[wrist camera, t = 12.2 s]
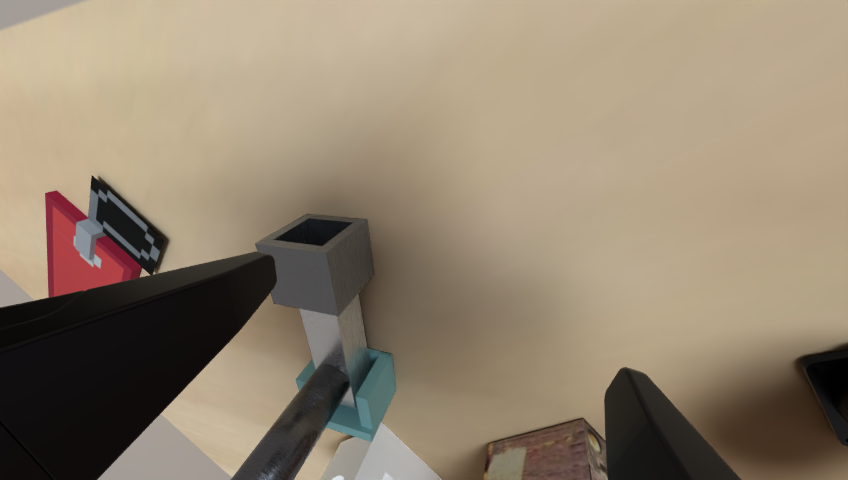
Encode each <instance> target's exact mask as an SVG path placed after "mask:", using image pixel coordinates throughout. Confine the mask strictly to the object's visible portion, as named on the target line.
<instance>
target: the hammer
mask: <svg viewBox="0 0 848 480" xmlns="http://www.w3.org/2000/svg"><path fill="white" fill-rule="evenodd" d="M299 310H300V314H301V317H302V321H303V325H304V328H305V332H306V336H307V339H308V343H309V347H310V350H311V354H312V358H313V362H314V365H315V369H316V370H315V371H314V372H313V374H312V375H311V376H310V378H309V379H308V380H307V382H306V383H305V384H304V385H303V387H302V388H301V389H300V391H299V392H298V393H297V395H296V396H295V397H294V398H293V400H292V401H291V402H290V404H289V405H288V406H287V407H286V409H285V410H284V411H283V413H282V414H281V415H280V417H279V418H278V419H277V420H276V422H275V423H274V424H273V426H272V427H271V428H270V430H269V431H268V432H267V433H266V435H265V436H264V437H263V439H262V440H261V441H260V443H259V444H258V445H257V446H256V448H255V449H254V450H253V452H252V453H251V454H250V456H249V457H248V458H247V459H246V461H245V462H244V463H243V465H242V466H241V467H240V468H239V470H238V471H237V472H236V474H235V475H234V476H233V478H232V479H231V480H294V478H295V477H296V475H297V473H298V472H299V470H300V469H301V467H302V465H303V464H304V462H305V460H306V459H307V457H308V456H309V454H310V452H311V451H312V449H313V447H314V446H315V444H316V443H317V441H318V439H319V438H320V436H321V434H322V433H323V431H324V429H325V428H326V426H327V425H328V423H329V421H330V420H331V418H332V416H333V415H334V413H335V412H336V410H337V408H338V407H339V405H340V404H341V405H344V406H348V407H351V408H355V409H356V407H357V402H356V397H355V396H356V394H357V393H358V391H359V389H360V388H361V386H362V384H363V382H364V381H365V379H366V377H367V376H368V374H369V372H370V370H371V368H370V362H369V356H368V349H367V343H366V337H365V331H364V325H363V319H362V313H361V306H360V300H359V294H357V295H356V297H355V298H354V299H353V300H352V301H351V303H350V304H349V305H348V306H347V307H346V308H345V310H344V311H343V312H342V313H341V314H340V316H334V315H329V314H324V313H319V312H314V311H309V310H304V309H299Z"/></svg>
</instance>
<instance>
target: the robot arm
mask: <svg viewBox="0 0 848 480" xmlns="http://www.w3.org/2000/svg"><path fill="white" fill-rule="evenodd" d="M276 283H277V274H276V266H275V259H274V257H273V256H272V255H270V254H267V253H264V252H253V253H248V254H244V255H239V256H235V257H230V258H226V259H221V260H217V261H212V262H208V263H203V264H199V265H194V266H190V267H185V268H181V269H176V270H172V271H167V272H163V273H158V274H154V275H149V276H145V277H140V278H136V279H131V280H127V281H122V282H118V283H113V284H109V285H104V286H100V287H95V288H91V289H87V290H86V291H84V290H82V291H77V292H73V293H68V294H64V295H59V296H54V297H50V298H45V299H40V300H36V301H31V302H26V303H22V304H16V305H11V306H6V307H1V308H0V480H97V479H98V478H99V477H100V476H101V475H102V474H103V473H104V472H105V471H106V470H107V469H108V468H109V467H110V466H111V465H112V464H113V463H114V462H115V460H117V459H118V457H119V456H120V455H121V454H122V453H123V452H124V451H125V450H126V449H127V448H128V447H129V446H130V445H131V444H132V443H133V442H134V440H136V439H137V438H138V437H139V436H140V435H141V433H142V432H143V431H144V430H145V429H146V428H147V427H148V426H149V425H150V424H151V423H152V422H153V421H154V420H155V419H156V418H157V417H158V416H159V415H160V414H161V413H162V412H163V411H164V409H165V408H166V407H167V406H168V405H169V404H170V403H171V402H172V401H173V400H174V399H175V398H176V397H177V396H178V395H179V394H180V393H181V392H182V391H183V390H184V389H185V388H186V387H187V385H188V384H189V383H190V382H191V381H192V380H193V379H194V378H195V377H196V376H197V375H198V374H199V373H200V372H201V371H202V370H203V369H204V368H205V367H206V366H207V365H208V364H209V362H210V361H211V360H212V359H213V358H214V357H215V356H216V355H217V354H218V353H219V352H220V351H221V350H222V349H223V348H224V347H225V346H226V345H227V344H228V343H229V342H230V341H231V340H232V338H233V337H234V336H235V335H236V334H237V333H238V332H239V331H240V330H241V329H242V327H243V326H244V325H245V324H246V322H247V321H248V320H249V319H250V317H251V316H252V315H253V314H254V312H255V311H256V310H257V309H258V307H259V306H260V305H261V304H262V302H263V301H264V300H265V299H266V297H267V296H268V295H269V294H270V292H271V291H272V290H273V289H274V287H275V285H276ZM816 366H817V367H816ZM801 367H802V369H803V371H804V373H805V376H806V378H807V380H808V382H809V384H810V386H811V388H812V390H813V392H814V394H815V396H816V398H817V400H818V402H819V404H820V406H821V409H822V411H823V413H824V415H825V417H826V419H827V421H828V423H829V425H830V427H831V429H832V431H833V433H834V435H835V436H836V437H837V439H838V440H839V441H840V442H841V443H842V444H844V445H846V446H848V350H846V351H840V352H835V353H829V354H823V355H818V356H812V357H808V358H805V359H804V360H802V362H801ZM604 404H605V438H606V466H607V478H608V480H741V479H740V478H739V477H738V476H737V475H736V473H735V472H734V471H733V470H732V469H731V468H730V467H729V466H728V465H727V463H726V462H725V461H724V460H723V459H722V458H721V457H720V456H719V455H718V453H717V452H716V451H715V450H714V449H713V448H712V447H711V446H710V445H709V444H708V442H707V441H706V440H705V439H704V438H703V437H702V436H701V435H700V434H699V432H698V431H697V430H696V429H695V428H694V427H693V426H692V425H691V424H690V422H689V421H688V420H687V419H686V418H685V417H684V416H683V415H682V414H681V412H680V411H679V410H678V409H677V408H676V407H675V406H674V405H673V404H672V403H671V401H670V400H669V399H668V398H667V397H666V396H665V395H664V394H663V393H662V391H661V390H660V389H659V388H658V387H657V386H656V385H655V384H654V383H653V381H652V380H651V379H650V378H649V377H648V376H647V375H646V374H644V373H643V372H640V371H637V370H634V369H630V368H627V367H623V368H621V369H620V370H619V371H618V373H617V375H616V376H615V378H614V379H613V381H612V382H611V384H610V385H609V387H608V388H607V390H606V393H605V399H604Z"/></svg>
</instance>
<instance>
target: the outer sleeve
mask: <svg viewBox="0 0 848 480" xmlns="http://www.w3.org/2000/svg"><path fill="white" fill-rule="evenodd" d="M255 245H256V248H257V251H258V252H264V253H267V254H270V255H272V256H273V257H274V259H275V266H276V274H277V283H276V285H275V287H274V289H273V290H272V291H271V292H270V293H271V296H272V299H273V302H274V304H279V305H284V306H289V307H294V308H299V309H304V310H309V311H314V312H319V313H324V314H329V315H334V316H340V314H341V313H342V312H343V311H344V310H345V308H346V307H347V306H348V305H349V304H350V303H351V301H352V300H353V299H354V298H355V297H356V295H357V294H358V293H359V292H360V291H361V290H362V288H363V287H364V286H365V285H366V284H367V282H368V281H369V280H370V279H371V278H372V277H373V275H374V268H373V260H372V253H371V245H370V237H369V230H368V222H367V219H356V218H345V217H334V216H324V215H313V214H306V215H304V216H302V217H301V218H299V219H297V220H295V221H294V222H292V223H290V224H288V225H287V226H285V227H283V228H281V229H280V230H278V231H276V232H275V233H273V234H271V235H269V236H268V237H266V238H264V239H262V240H261V241H259V242H257V243H255Z"/></svg>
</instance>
